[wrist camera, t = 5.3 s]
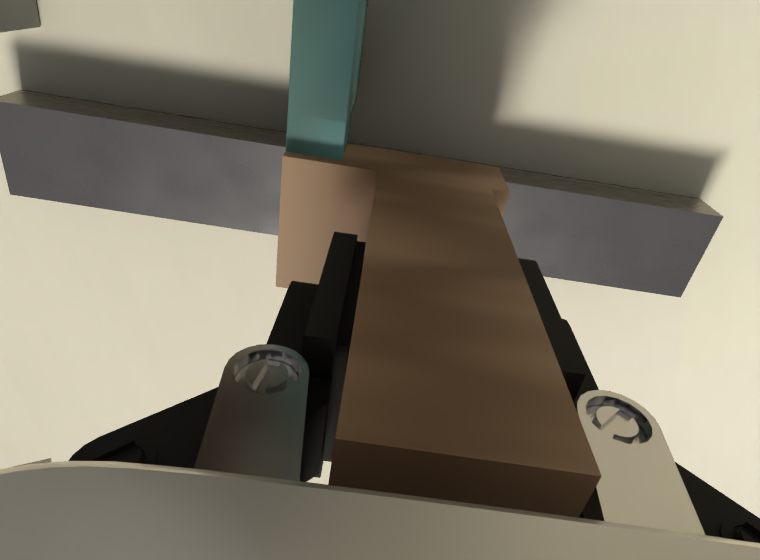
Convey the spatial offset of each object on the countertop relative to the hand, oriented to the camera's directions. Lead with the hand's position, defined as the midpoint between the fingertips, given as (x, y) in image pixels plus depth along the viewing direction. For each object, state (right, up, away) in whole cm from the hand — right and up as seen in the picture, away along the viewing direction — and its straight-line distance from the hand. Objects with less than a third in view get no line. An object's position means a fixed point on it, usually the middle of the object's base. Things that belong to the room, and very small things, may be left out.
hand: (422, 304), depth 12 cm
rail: (-1, +4, +6) cm, 7 cm away
